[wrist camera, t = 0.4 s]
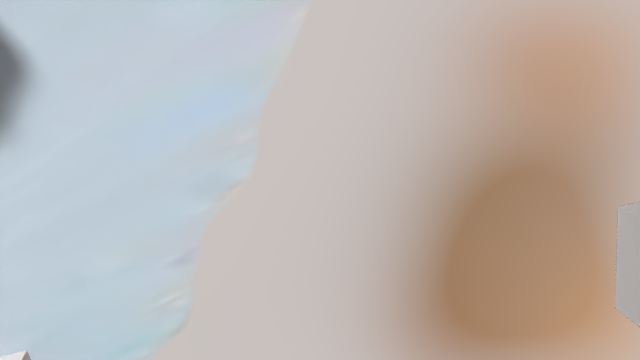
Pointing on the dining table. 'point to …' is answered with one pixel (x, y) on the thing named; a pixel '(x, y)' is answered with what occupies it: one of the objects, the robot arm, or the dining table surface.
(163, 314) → the dining table surface
